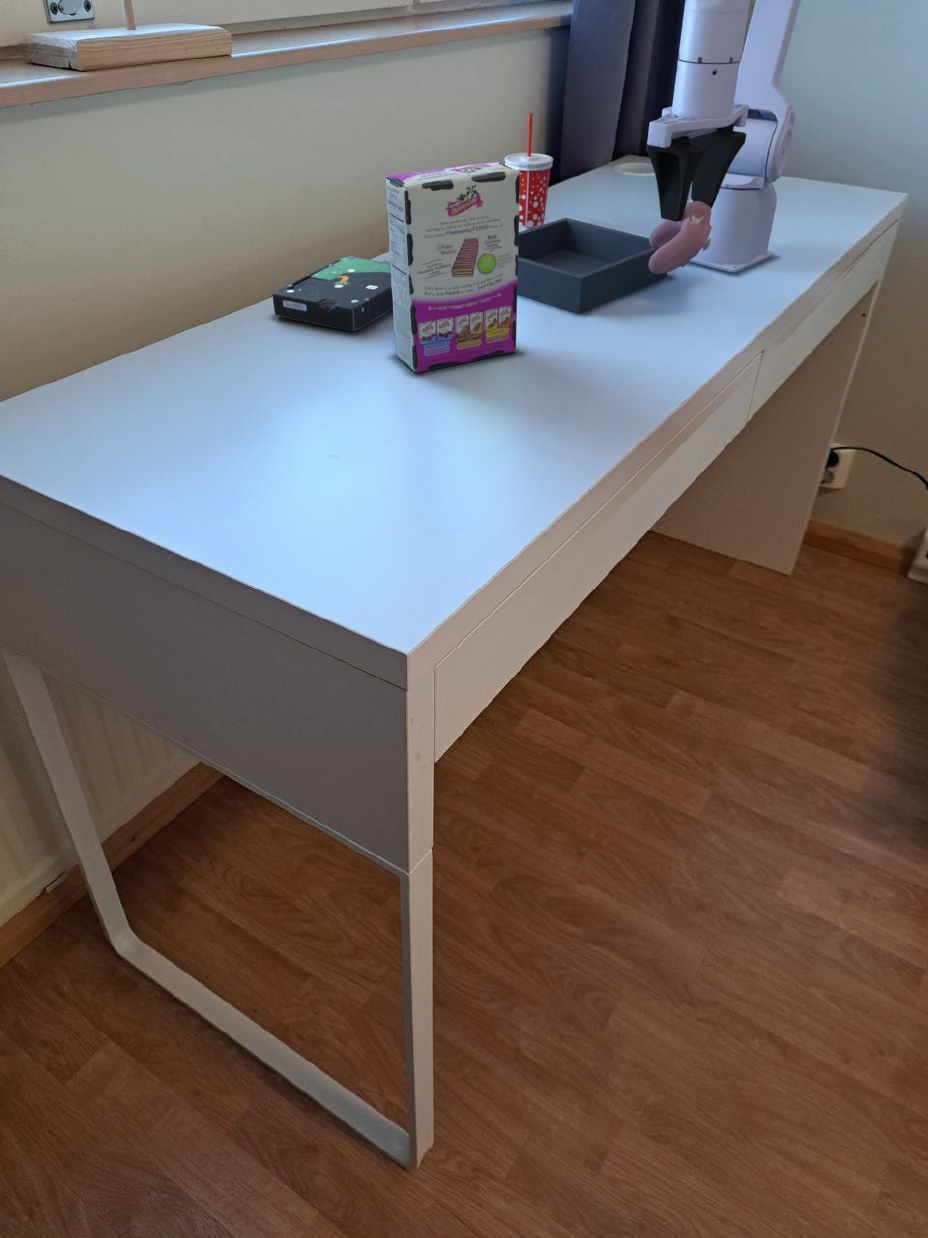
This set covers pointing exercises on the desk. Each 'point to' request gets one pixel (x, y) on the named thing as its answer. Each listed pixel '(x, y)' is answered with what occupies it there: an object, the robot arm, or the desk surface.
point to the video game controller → (680, 238)
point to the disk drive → (339, 294)
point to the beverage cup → (531, 183)
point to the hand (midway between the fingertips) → (686, 213)
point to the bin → (581, 264)
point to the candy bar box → (454, 263)
